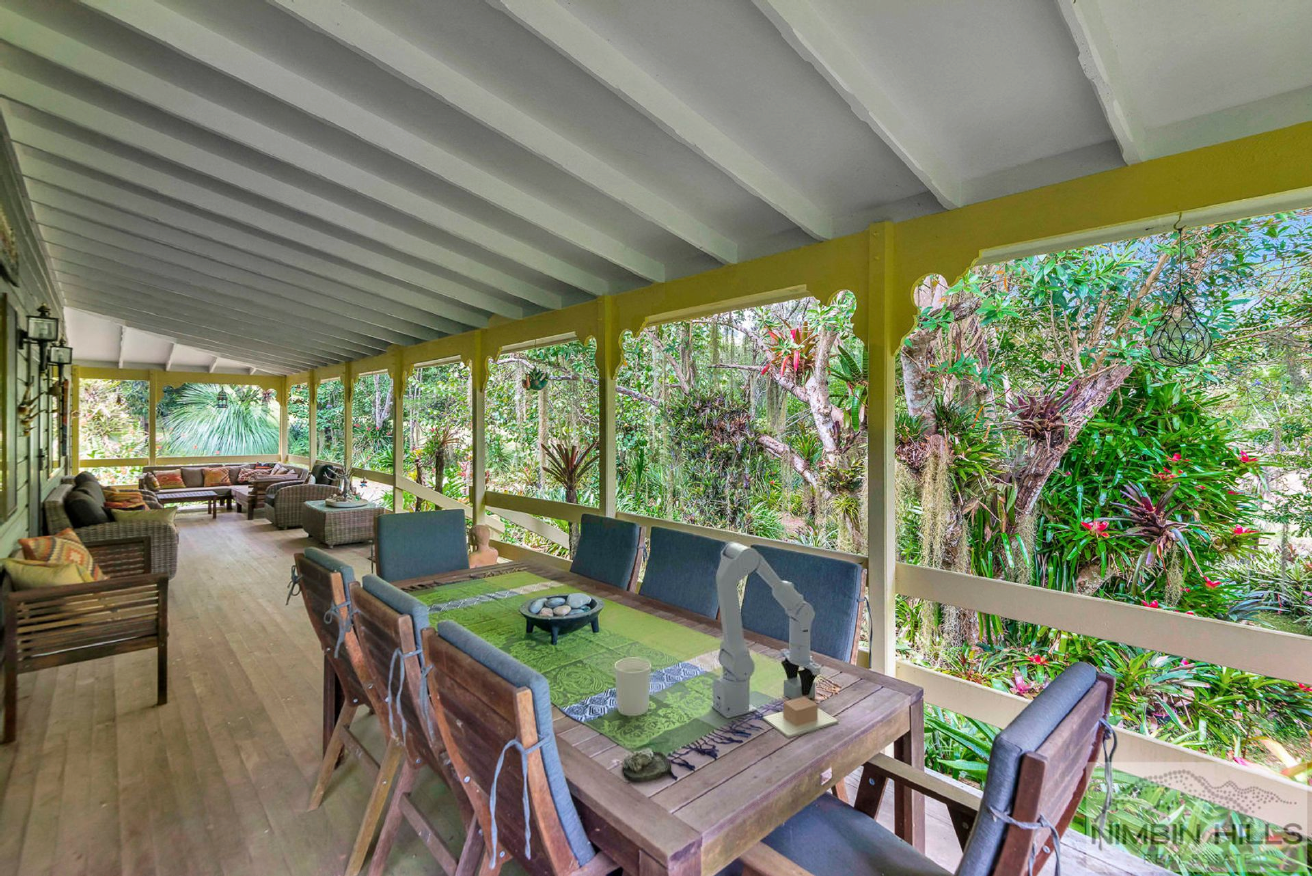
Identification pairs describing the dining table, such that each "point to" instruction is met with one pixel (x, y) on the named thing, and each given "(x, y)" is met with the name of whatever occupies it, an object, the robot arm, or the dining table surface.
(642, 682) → the candle holder
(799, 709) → the terracotta brick
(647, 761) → the dark green oval dish
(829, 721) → the baseboard
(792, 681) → the slate brick
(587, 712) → the dining table surface
